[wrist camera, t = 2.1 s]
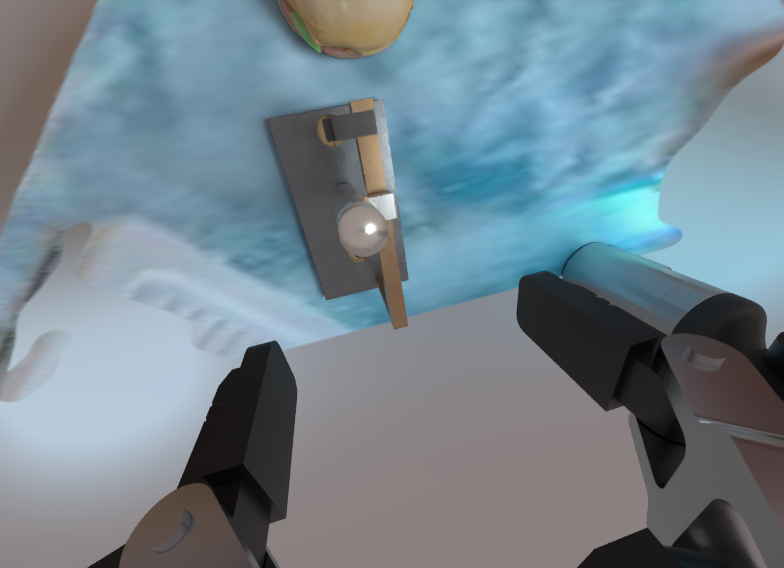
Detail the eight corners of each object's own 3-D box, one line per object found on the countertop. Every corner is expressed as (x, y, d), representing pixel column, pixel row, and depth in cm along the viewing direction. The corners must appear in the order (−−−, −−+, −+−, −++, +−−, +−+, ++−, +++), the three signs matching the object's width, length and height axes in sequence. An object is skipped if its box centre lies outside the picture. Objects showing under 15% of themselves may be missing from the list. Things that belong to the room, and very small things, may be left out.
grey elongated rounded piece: (369, 169, 32) (409, 197, 17) (374, 197, 33) (415, 245, 19) (327, 177, 31) (333, 213, 17) (334, 205, 33) (345, 261, 18)
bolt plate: (380, 100, 30) (411, 83, 20) (405, 275, 41) (434, 322, 31) (269, 119, 29) (240, 110, 19) (326, 294, 40) (327, 351, 29)
